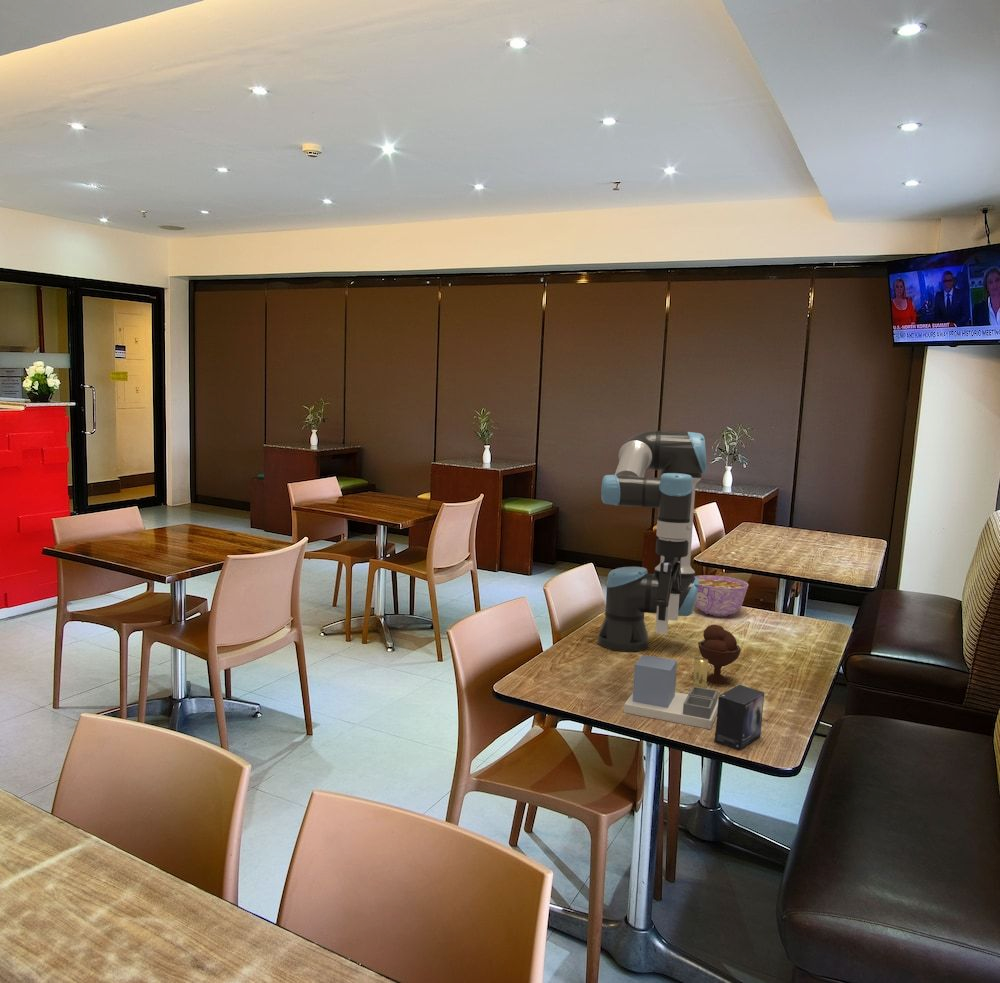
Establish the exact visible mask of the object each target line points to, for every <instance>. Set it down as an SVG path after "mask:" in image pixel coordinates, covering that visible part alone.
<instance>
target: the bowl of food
mask: <svg viewBox="0 0 1000 983" xmlns="http://www.w3.org/2000/svg"><path fill="white" fill-rule="evenodd" d="M695 577H697V578H699V585H698V592H697V597H696V602H695V606H696V607H697V609H699V610H700V611H702V612H703V613H707V614H710V615H709V616H711V615H713V616H712V617H717V616H721V618H723V617H722V616H725V617H728V616H729V615H732V614H734V613H736V612H738V611H739V610H740V609H741V608H742V606H743V603H744V600H745V596H746V595H747V594H746V593H747V591H748V589H749V583H748V582H747V581H745V580H742V579H739V578H734V577H729V576H724V575H709V574H708V575H707V574H706V575H702V574H701V575H695ZM707 614H706V615H707Z"/></svg>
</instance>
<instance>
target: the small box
mask: <svg viewBox="0 0 1000 983" xmlns="http://www.w3.org/2000/svg"><path fill="white" fill-rule="evenodd" d="M717 700H718V709H717V715H716V722H715V733H714V740H713V741H714V742H716V743H719V744H721V745H725V746H727V747H731V748H733V749H736V750H742V749H744V748H746V747H747V746H748V745H749V744H751V743H753V742H754V741H756V740H758V739H759V738H761V735H762V726H763V725H762V722H763V714H764V713H763V712H764V710H763V709H764V702H765V692H764V691H761V690H758V689H755V688H751V687H748V686H745V685H742V684H738V685H736V686H735V687H733V688H730V689H728V690H727V691H725V692H722V693H721V694H718V699H717Z"/></svg>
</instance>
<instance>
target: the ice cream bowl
mask: <svg viewBox="0 0 1000 983" xmlns="http://www.w3.org/2000/svg"><path fill="white" fill-rule="evenodd" d="M702 634H703V635H702V636H703V639H704V640H701V641H698V642H697V645H698V649H699V653H700V655H701V658H706V659H708V664H710V665H711V666H713V668H714V669H713V673H712V674H710V675H707V682H709V683H711V684H714V685H715V684H716V685H724V684H727V683H728V680H727V678H726V677H725V676H724V675H722V672H721V671H722V668H723V667H726V666H728V665H730V664H732V663H734V662H735V661H736V660H738V658H739V656H740V654H741V650H742V648H741V647H740V645H739V644H737V639H736V637H735V636H734V635H733V633H732V632H730V631H728V630H726V629H725V628H724V627H722V626H721V625H719V624H710V625H708V626H707V627H706V628H705V629H703V632H702Z"/></svg>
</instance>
